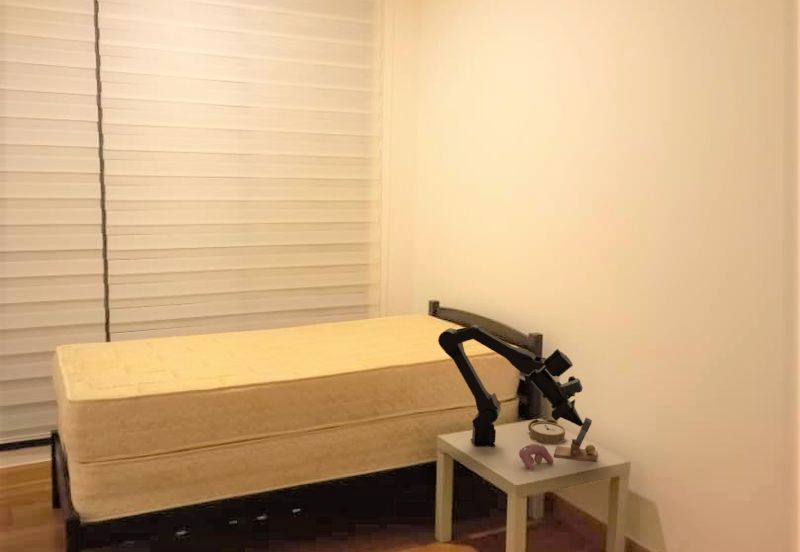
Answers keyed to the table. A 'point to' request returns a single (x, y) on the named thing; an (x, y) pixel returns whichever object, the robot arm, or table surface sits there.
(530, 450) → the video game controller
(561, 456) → the base
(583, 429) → the lever
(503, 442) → the table surface
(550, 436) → the alarm clock
